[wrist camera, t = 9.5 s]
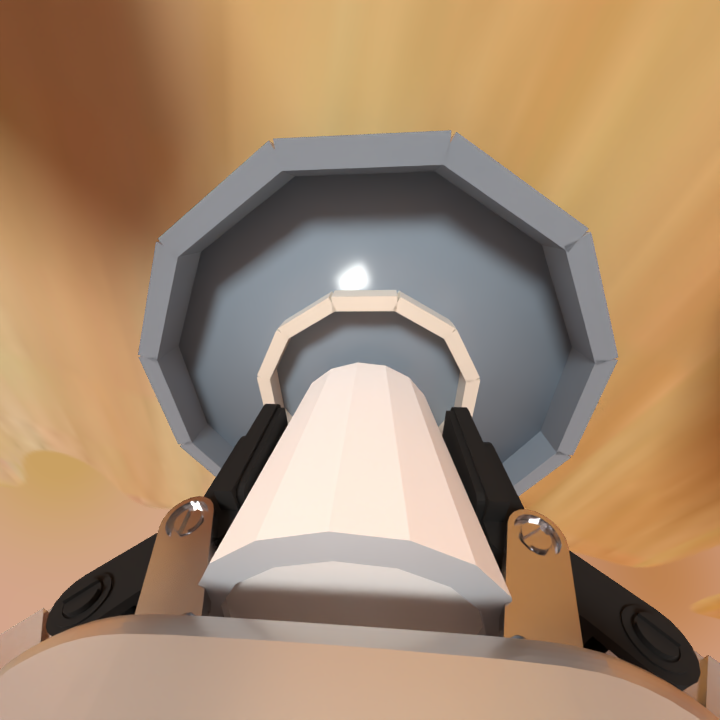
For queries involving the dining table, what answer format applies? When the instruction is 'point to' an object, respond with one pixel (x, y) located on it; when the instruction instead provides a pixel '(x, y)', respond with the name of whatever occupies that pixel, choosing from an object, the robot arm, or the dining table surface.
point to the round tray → (380, 295)
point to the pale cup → (359, 520)
